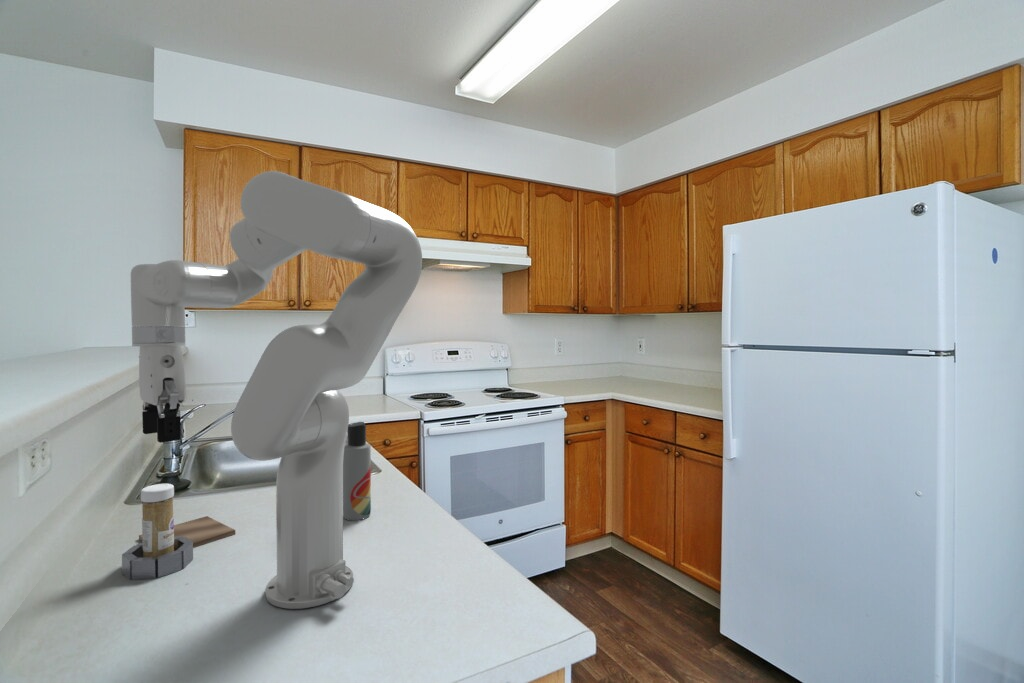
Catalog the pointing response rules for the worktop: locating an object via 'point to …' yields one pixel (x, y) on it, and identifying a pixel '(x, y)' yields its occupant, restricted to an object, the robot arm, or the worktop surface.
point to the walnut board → (201, 530)
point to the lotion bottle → (356, 473)
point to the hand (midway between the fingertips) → (161, 436)
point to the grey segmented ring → (157, 560)
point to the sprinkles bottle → (157, 520)
